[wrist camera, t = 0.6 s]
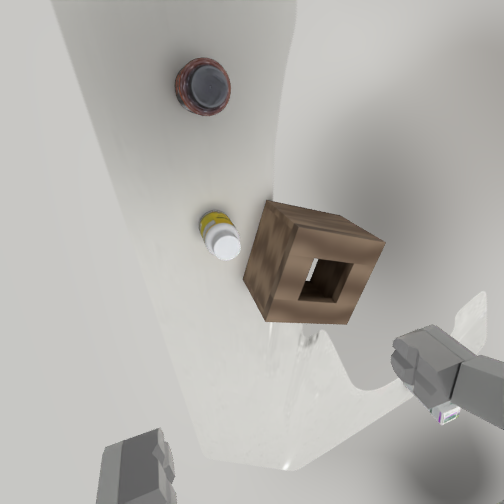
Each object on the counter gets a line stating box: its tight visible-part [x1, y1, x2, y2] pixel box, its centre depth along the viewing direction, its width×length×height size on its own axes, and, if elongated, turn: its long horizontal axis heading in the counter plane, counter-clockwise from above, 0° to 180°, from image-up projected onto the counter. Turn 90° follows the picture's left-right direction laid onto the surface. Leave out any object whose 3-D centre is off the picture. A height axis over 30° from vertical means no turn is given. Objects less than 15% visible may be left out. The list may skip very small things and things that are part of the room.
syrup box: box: [403, 382, 460, 425], centre depth 85 cm, size 6×6×14 cm
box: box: [243, 200, 386, 324], centre depth 52 cm, size 16×16×13 cm
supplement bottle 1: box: [175, 58, 231, 116], centre depth 36 cm, size 6×6×11 cm
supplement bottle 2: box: [199, 211, 241, 261], centre depth 46 cm, size 5×5×10 cm
